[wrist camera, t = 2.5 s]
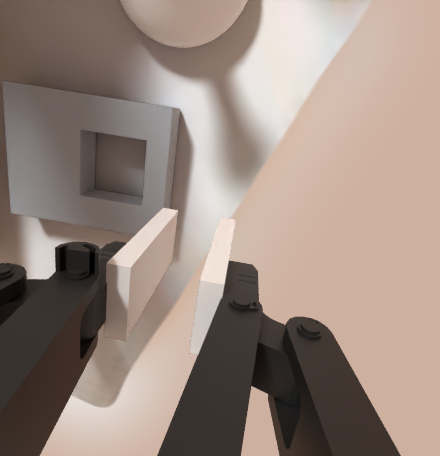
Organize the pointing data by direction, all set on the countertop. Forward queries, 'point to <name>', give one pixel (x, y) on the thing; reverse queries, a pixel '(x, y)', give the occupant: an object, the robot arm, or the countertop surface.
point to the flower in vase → (183, 19)
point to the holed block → (83, 156)
